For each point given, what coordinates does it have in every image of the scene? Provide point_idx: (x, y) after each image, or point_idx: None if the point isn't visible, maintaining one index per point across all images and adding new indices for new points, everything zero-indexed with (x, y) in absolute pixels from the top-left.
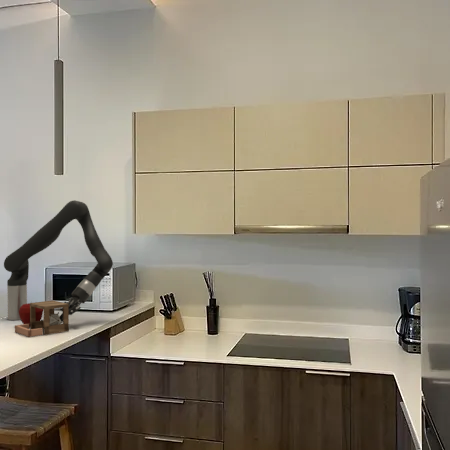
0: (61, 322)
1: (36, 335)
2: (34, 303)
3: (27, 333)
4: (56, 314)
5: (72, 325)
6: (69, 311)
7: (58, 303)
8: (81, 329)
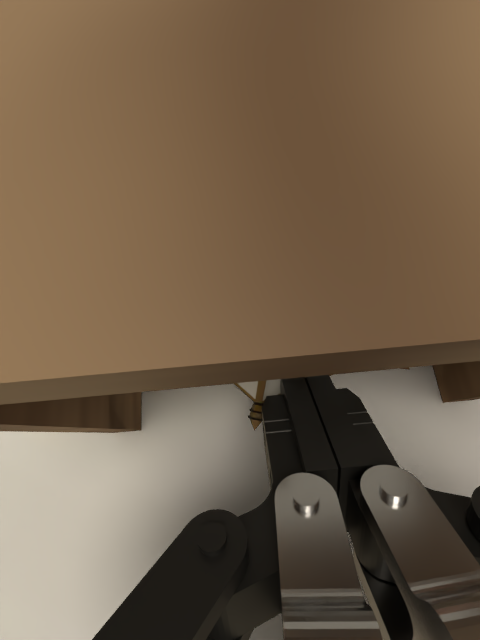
0: (254, 403)
1: None
2: None
3: None
4: None
5: None
6: (167, 563)
7: (109, 146)
8: (86, 599)
